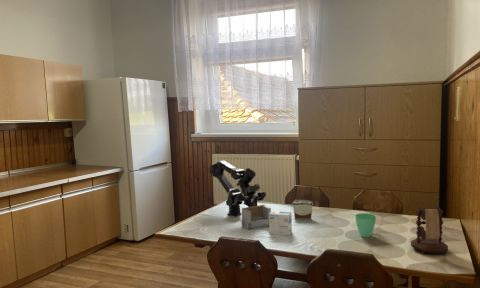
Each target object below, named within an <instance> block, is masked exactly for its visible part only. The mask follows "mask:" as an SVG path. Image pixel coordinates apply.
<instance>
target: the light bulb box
mask: <svg viewBox="0 0 480 288" xmlns="http://www.w3.org/2000/svg"><path fill="white" fill-rule="evenodd" d="M292 219H293V218H292V211H282V210H280V211H279V210H271V212H270V213H269V226H268V230H269V235H279V236H280V235H281V236H290V235H291V233H292V232H293V228H292V226H293V225H292V223H293V222H292V221H293V220H292Z"/></svg>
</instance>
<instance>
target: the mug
mask: <svg viewBox="0 0 480 288" xmlns="http://www.w3.org/2000/svg"><path fill="white" fill-rule="evenodd" d="M376 221H377V216H376V215H375V214H373V213H371V212H367V213H366V212H365V213H364V212H362V213H357V214H355V222H356V227H357V230H358V232H359V235H360V237H362V238H370V237H372V234H373V231H374V229H375V225H376Z"/></svg>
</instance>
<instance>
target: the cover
mask: <svg viewBox="0 0 480 288" xmlns="http://www.w3.org/2000/svg"><path fill="white" fill-rule="evenodd" d="M263 206H266V205H265V204H261V205H257V206H253V207H248V206H246V207H242V208H241V213H242V214H241V221H242V220H243V209H247V210H249V211H251V219H252V218H257V217H263Z"/></svg>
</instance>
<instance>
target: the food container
mask: <svg viewBox="0 0 480 288" xmlns="http://www.w3.org/2000/svg"><path fill="white" fill-rule="evenodd" d="M291 206H292V207H293V214H294V220H312V217H313V216H312V213H313V207H314V206H315V205H314V202H313V201H311V200H308V199H297V200H294V201H292V205H291Z"/></svg>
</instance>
